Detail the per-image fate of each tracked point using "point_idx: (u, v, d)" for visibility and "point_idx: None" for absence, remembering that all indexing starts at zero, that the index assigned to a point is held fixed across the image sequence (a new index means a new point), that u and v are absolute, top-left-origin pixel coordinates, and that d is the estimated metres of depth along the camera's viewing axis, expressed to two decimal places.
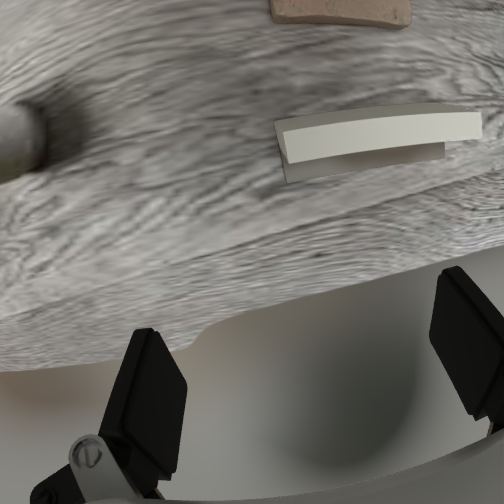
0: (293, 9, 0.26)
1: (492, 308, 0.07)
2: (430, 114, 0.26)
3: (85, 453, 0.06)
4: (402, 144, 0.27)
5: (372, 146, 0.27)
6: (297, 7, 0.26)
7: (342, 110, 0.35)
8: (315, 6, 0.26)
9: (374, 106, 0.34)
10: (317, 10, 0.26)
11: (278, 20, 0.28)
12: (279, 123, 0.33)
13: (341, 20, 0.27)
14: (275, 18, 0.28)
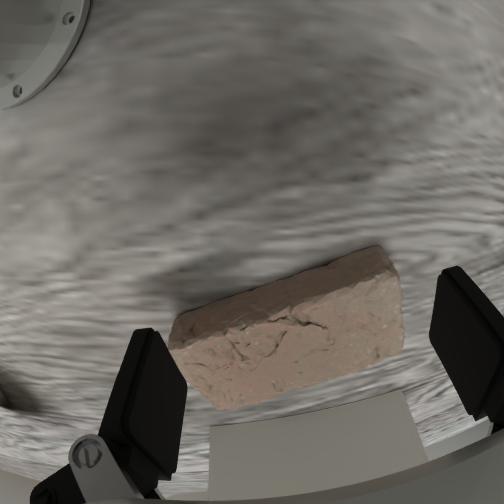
0: (233, 403, 0.24)
1: (492, 308, 0.07)
2: None
3: (85, 453, 0.06)
4: None
5: None
6: (237, 399, 0.23)
7: (283, 420, 0.32)
8: (259, 393, 0.23)
9: (322, 410, 0.32)
10: (263, 396, 0.23)
11: None
12: (212, 451, 0.30)
13: None
14: None
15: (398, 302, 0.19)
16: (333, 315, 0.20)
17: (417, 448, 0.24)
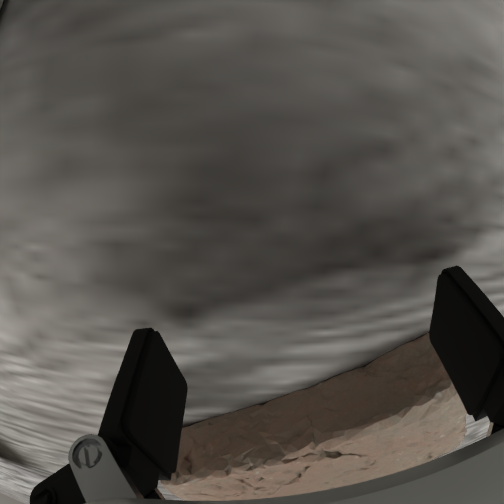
0: None
1: (492, 308, 0.07)
2: None
3: (85, 453, 0.06)
4: None
5: None
6: None
7: None
8: None
9: None
10: None
11: None
12: None
13: None
14: None
15: (463, 413, 0.11)
16: (374, 445, 0.12)
17: None
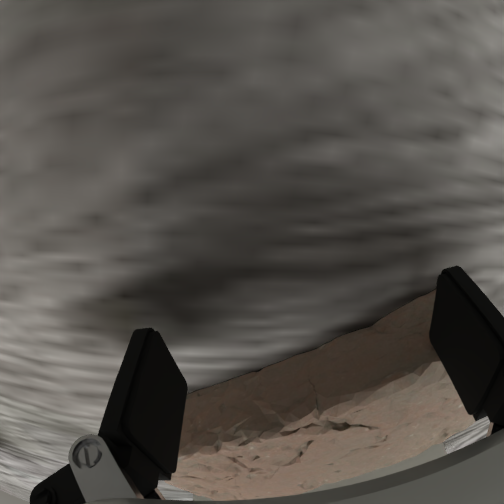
0: None
1: (492, 308, 0.07)
2: None
3: (85, 453, 0.06)
4: None
5: None
6: None
7: None
8: (282, 493, 0.14)
9: None
10: (288, 495, 0.14)
11: None
12: None
13: None
14: None
15: None
16: (388, 413, 0.10)
17: None
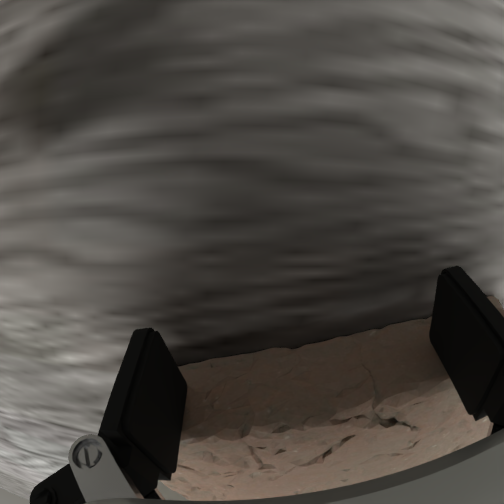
0: None
1: (492, 308, 0.07)
2: None
3: (85, 453, 0.06)
4: None
5: None
6: None
7: None
8: None
9: None
10: None
11: None
12: None
13: None
14: None
15: None
16: (437, 412, 0.09)
17: None
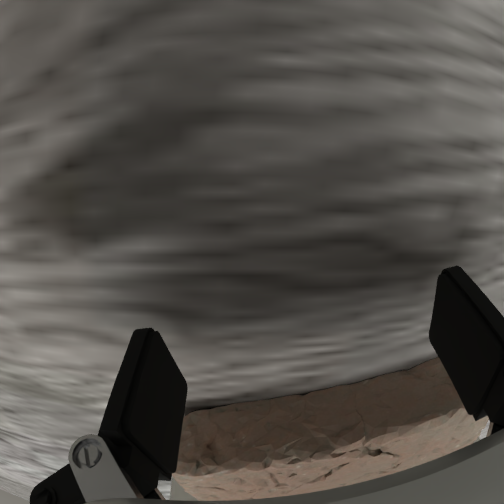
0: None
1: (492, 308, 0.07)
2: None
3: (85, 453, 0.06)
4: None
5: None
6: None
7: None
8: None
9: None
10: None
11: None
12: None
13: None
14: None
15: (484, 424, 0.11)
16: (414, 444, 0.11)
17: None
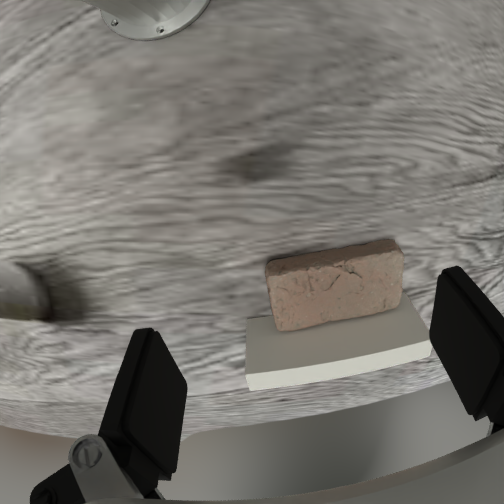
0: (292, 325, 0.38)
1: (492, 308, 0.07)
2: (378, 352, 0.33)
3: (85, 453, 0.06)
4: (347, 375, 0.34)
5: (320, 379, 0.34)
6: (295, 323, 0.38)
7: None
8: (311, 319, 0.38)
9: None
10: (312, 322, 0.38)
11: None
12: (249, 335, 0.40)
13: None
14: None
15: (401, 270, 0.35)
16: (366, 270, 0.35)
17: (422, 329, 0.34)
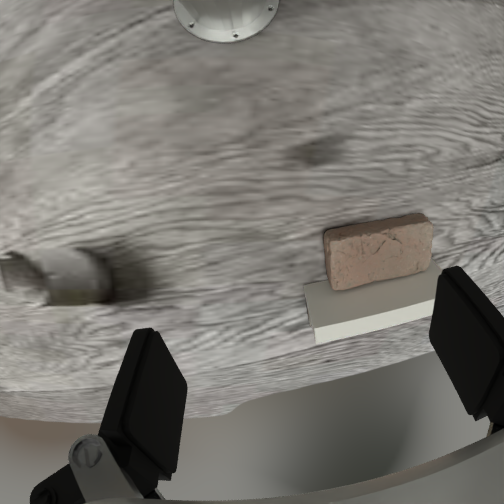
0: (345, 285, 0.45)
1: (492, 308, 0.07)
2: (418, 303, 0.39)
3: (85, 453, 0.06)
4: (394, 324, 0.41)
5: (373, 329, 0.41)
6: (348, 282, 0.44)
7: None
8: (360, 279, 0.44)
9: None
10: (361, 281, 0.44)
11: None
12: (309, 297, 0.46)
13: None
14: None
15: (431, 237, 0.41)
16: (405, 237, 0.41)
17: None
